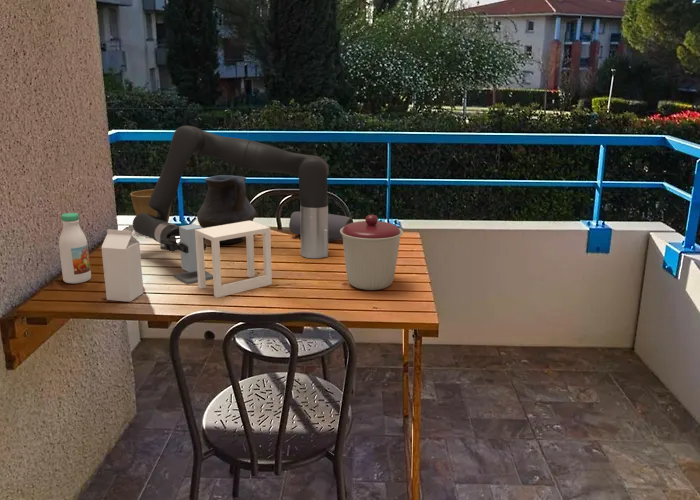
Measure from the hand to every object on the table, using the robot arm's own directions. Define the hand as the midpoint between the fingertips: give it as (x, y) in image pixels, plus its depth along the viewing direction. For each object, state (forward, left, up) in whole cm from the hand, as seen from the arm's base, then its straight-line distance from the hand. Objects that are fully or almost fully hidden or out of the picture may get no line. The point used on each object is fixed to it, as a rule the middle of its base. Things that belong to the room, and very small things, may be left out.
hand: (196, 248), depth 186 cm
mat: (+2, -2, -10) cm, 10 cm away
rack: (-12, +5, -10) cm, 16 cm away
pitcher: (-1, -43, -10) cm, 44 cm away
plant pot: (+29, -53, -10) cm, 61 cm away
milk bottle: (+36, +1, -10) cm, 37 cm away
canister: (-51, +3, -10) cm, 53 cm away
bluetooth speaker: (-35, -47, -10) cm, 60 cm away
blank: (+2, -2, -7) cm, 7 cm away
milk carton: (+17, +15, -10) cm, 25 cm away
